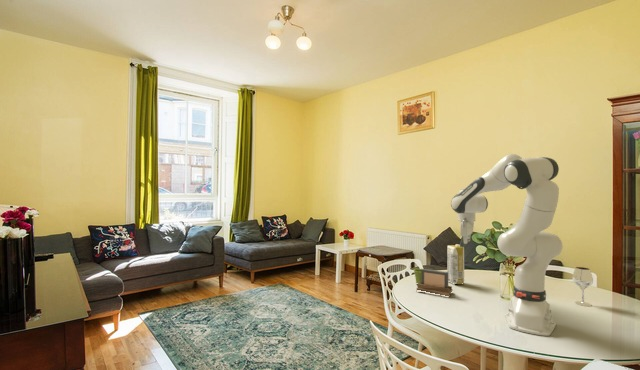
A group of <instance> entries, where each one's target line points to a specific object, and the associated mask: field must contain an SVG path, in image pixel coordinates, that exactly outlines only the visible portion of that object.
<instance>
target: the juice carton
mask: <svg viewBox="0 0 640 370" xmlns="http://www.w3.org/2000/svg"><path fill="white" fill-rule="evenodd" d="M446 250H447V252H446V254H447V255H446V256H447V259H446V260H447V261H446V262H447V264H446V265H447V266H446V267H447V269H446V270H447V271H446V272H448V281H450V282H452V283H454V284H462V283H464V284H465V247H464V246H461V244H458V243H456V244H455V245H453V244H451V245H447V249H446ZM452 283H451V284H452ZM454 284H453V285H454Z"/></svg>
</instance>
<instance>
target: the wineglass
mask: <svg viewBox="0 0 640 370" xmlns="http://www.w3.org/2000/svg"><path fill="white" fill-rule="evenodd" d="M572 281H573V283H574V284H575V285H577V286H578V287H579V288H580V289H581V301H578V300H577V301H574V304H575V305H579V306H583V307H591V306H592V304H591V303H589V302H585V290H586V289H587V288H589V287H591V286H592V285H593V284H594V277H593V274H592V272H591V269H590V268H588V267H584V266H576V267H575V268H574V270H573V274H572Z"/></svg>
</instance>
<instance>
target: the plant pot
mask: <svg viewBox="0 0 640 370" xmlns="http://www.w3.org/2000/svg"><path fill="white" fill-rule="evenodd" d="M422 269H423V268H414V269H413V273H414V277H415V284H416V283H418V284H420V282H421V281H422Z"/></svg>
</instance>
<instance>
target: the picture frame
mask: <svg viewBox="0 0 640 370" xmlns="http://www.w3.org/2000/svg"><path fill="white" fill-rule="evenodd" d="M421 269H422V284H424V285H430V286H437V287H443V288H448V286H449V282H448V272H447V271H443V270H442V271H440V270H434V269H425V268H421Z"/></svg>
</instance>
